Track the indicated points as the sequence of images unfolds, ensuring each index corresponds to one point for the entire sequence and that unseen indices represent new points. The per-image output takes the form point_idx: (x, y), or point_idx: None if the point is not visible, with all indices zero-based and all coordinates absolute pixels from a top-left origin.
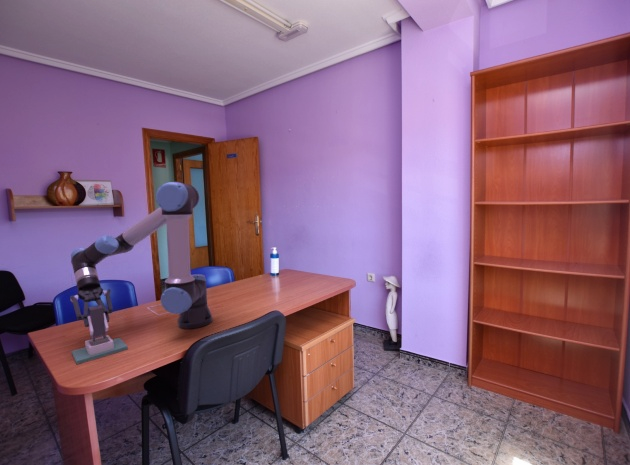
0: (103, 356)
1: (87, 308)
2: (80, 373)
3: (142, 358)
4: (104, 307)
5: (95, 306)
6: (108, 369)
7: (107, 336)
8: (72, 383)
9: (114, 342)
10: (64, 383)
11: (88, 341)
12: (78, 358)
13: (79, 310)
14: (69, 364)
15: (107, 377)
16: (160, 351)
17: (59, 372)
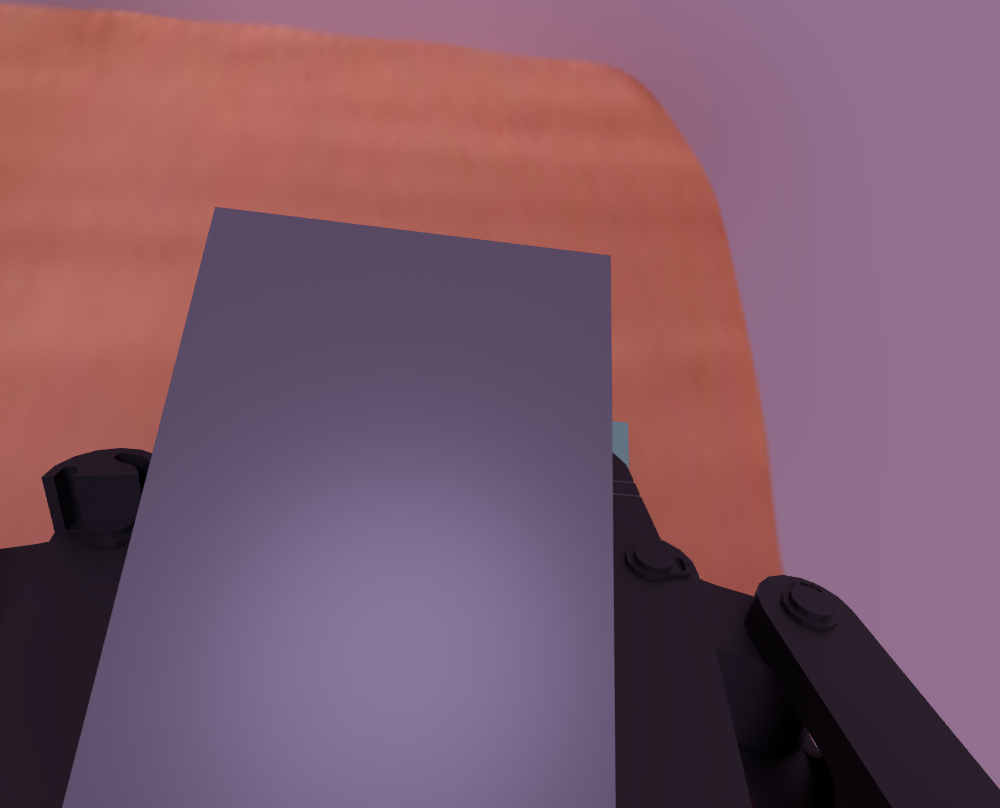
0: None
1: (627, 785)
2: (617, 251)
3: (235, 121)
4: (32, 650)
5: (338, 674)
6: (468, 157)
7: None
8: (671, 159)
9: None
10: (708, 196)
11: None
12: None
13: (890, 775)
14: (662, 489)
15: (504, 66)
16: (75, 117)
17: (729, 392)
